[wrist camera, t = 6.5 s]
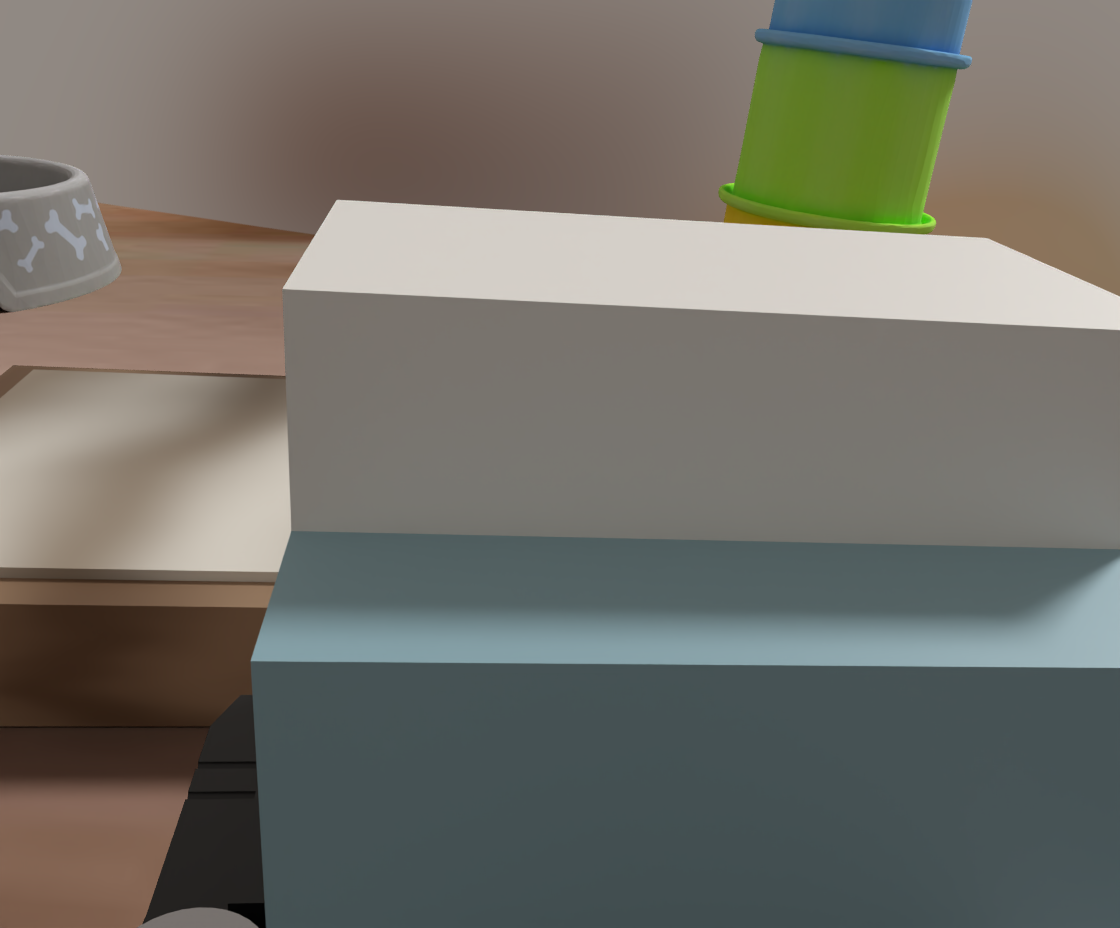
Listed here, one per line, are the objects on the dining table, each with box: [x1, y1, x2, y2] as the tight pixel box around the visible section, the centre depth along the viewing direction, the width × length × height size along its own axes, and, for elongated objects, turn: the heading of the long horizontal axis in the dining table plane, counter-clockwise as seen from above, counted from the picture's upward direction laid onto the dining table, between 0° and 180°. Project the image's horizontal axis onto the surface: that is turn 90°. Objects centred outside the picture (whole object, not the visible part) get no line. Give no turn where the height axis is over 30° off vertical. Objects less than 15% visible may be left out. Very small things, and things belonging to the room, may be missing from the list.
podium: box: [0, 365, 291, 726], centre depth 27 cm, size 14×14×3 cm
